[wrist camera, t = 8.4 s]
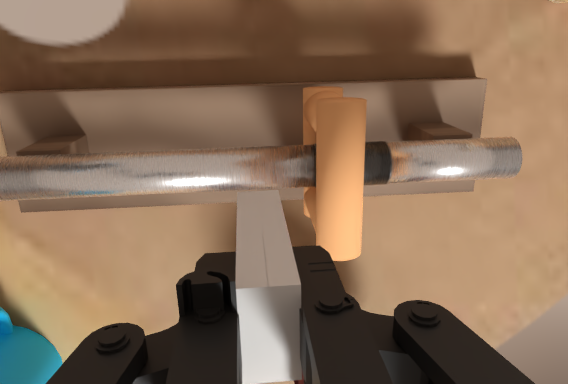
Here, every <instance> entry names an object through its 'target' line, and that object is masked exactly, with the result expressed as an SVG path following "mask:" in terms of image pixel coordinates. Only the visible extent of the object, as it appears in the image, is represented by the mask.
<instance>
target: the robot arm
mask: <svg viewBox="0 0 568 384" xmlns="http://www.w3.org/2000/svg"><path fill="white" fill-rule="evenodd" d="M176 290H177V298H178V307H179V315H180V317H179V322H178V323H177V324H176V325H174V326H172V327H170V328H169V329H166V330H163V331H161V332H158V333H154V334H150V335H147V336H145V334H144V331H143V329H142V328H140V327H139V326H138V325H135V324H130V323H116V324H111V325H108V326H104V327H102V328H100V329H98V330H96V331H94V332H92V333H91V334H90V335H89V336H88V337H86V338H85V339H84V340H83V341H82V342H81V344H80V345H79V346H78V347H77V348H76V349H75V350H74V352H73V353H72V354H71V355H70V356H69V357H68V358H67V360H66V361H65V362H64V363H63V364H62V365H61V366H60V368H59V369H58V370H57V371H56V372H55V373H54V374H53V376H52V377H51V378H50V379H49V380H48V381H47V382H46V384H258V383H270V382H282V381H294V380H302V372H303V377H304V384H535V383H534V382H532V381H531V380H530V379H529V378H528V377H527V376H525V375H524V374H523V373H522V372H521V371H519V370H518V369H517V368H516V367H515V366H513V365H512V364H511V363H510V362H509V361H508V360H506V359H505V358H504V357H503V356H502V355H500V354H499V353H498V352H497V351H496V350H495V349H493V348H492V347H491V346H490V345H489V344H487V343H486V342H485V341H484V340H483V339H481V338H480V337H479V336H478V335H477V334H476V333H474V332H473V331H472V330H471V329H470V328H468V327H467V326H466V325H465V324H464V323H463V322H461V321H460V320H459V319H458V318H457V317H455V316H454V315H453V314H452V313H451V312H449V311H448V310H447V309H445V308H443V307H442V306H440V305H438V304H435V303H432V302H429V301H422V300H413V301H406V302H404V303H401V304H399V305H398V306H397V307H396V308H395V309H394V316H387V315H379V314H374V313H369V312H366V311H364V310H361V308H360V306H359V303H358V302H357V301H356V300H355V298H354V297H352V296H350V295H348V294H347V293H346V292H345V290H344V287H343V285H342V283H341V280H340V278H339V275H338V273H337V271H336V268H335V265H334V263H333V260H332V258H331V256H330V253H329V252H328V251H326V250H325V249H324V248H322V247H321V246H320V245H318V246H301V247H292V245H291V241H290V237H289V233H288V228H287V224H286V220H285V216H284V212H283V208H282V204H281V200H280V195H279V191H278V190H267V191H247V192H237V229H236V252H223V253H206V254H204V255H203V256H202V257H201V258H200V259H199V260H198V261H197V262H196V267H195V271H194V272H191V273H189V274H187V275H185V276H184V277H182V278H181V279H180V280H179V281H178V283H177V284H176Z"/></svg>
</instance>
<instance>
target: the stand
mask: <svg viewBox="0 0 568 384" xmlns="http://www.w3.org/2000/svg"><path fill="white" fill-rule="evenodd" d="M486 85H487V79H484V78H478V77H470V78H436V79H402V80H368V81H334V82H300V83H266V84H232V85H198V86H164V87H130V88H96V89H62V90H28V91H4V92H0V123H1V127H2V132H3V136H4V140H5V145H6V149H7V154H8V156H30V155H56V154H82V153H108V152H134V151H160V150H185V149H211V148H237V147H263V146H289V145H303V88H306V87H317V86H334V87H342V88H343V97H355V98H363V99H366V100H367V108H366V134H365V142H369V141H385V142H392V141H418V140H444V139H470V138H480V134H481V126H482V118H483V110H484V101H485V93H486ZM474 183H475V180H456V181H434V182H411V183H389V184H385V185H364V186H363V196H384V195H406V194H427V193H449V192H470V191H474ZM267 190H278V191H279V195H280V200H299V199H304V187H300V188H278V189H256V190H233V191H211V192H189V193H167V194H144V195H122V196H100V197H78V198H55V199H33V200H18V201H19V206H20V210H21V212H42V211H63V210H85V209H106V208H127V207H149V206H170V205H192V204H213V203H234V202H237V192H247V191H267Z"/></svg>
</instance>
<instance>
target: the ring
mask: <svg viewBox="0 0 568 384" xmlns="http://www.w3.org/2000/svg"><path fill="white" fill-rule="evenodd" d="M366 108H367V100H366V99H363V98H355V97H343V88H342V87H334V86H317V87H306V88H303V145H313V144H316V188H315V187H304V214H305V215H306V216H307V217H310V218H311V220H312V223H313V226H314V229H315V232H316V246H318V245H320V246H321V247H322V248H324V249H325V250H326V251H328V252H329V253H330V256H331V258H332V260H333V261H347V260H352V259H354V258H356V257H358V256H359V255H360V254H361V239H362V213H363V186H364V160H365V134H366Z"/></svg>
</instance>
